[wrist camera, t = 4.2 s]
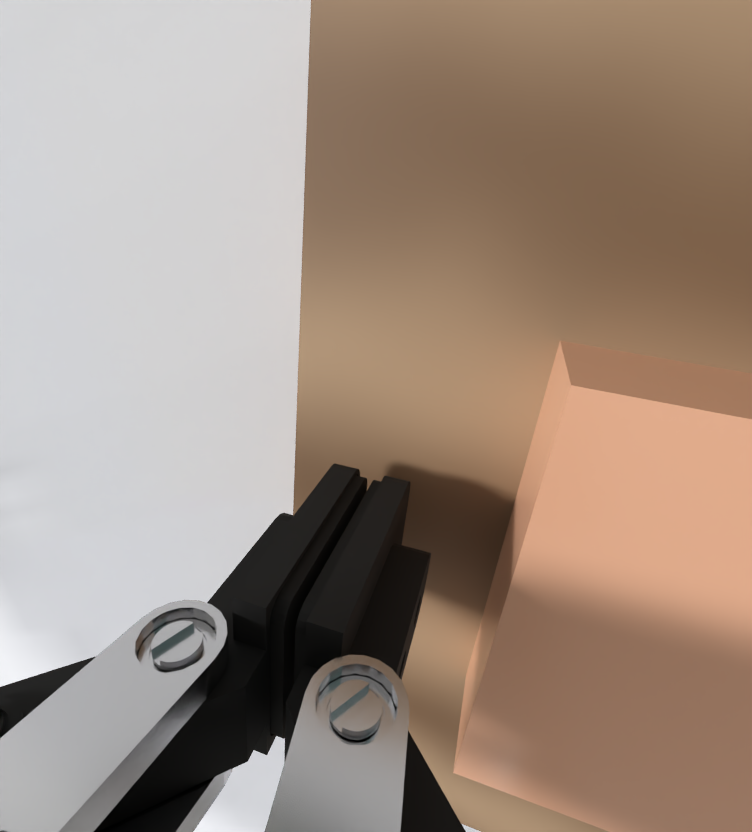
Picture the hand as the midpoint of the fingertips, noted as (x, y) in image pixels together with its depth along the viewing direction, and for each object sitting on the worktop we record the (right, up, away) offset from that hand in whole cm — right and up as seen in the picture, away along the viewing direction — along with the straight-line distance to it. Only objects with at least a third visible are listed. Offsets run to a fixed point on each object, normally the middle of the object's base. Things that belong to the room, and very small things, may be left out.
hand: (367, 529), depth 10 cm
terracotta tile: (+6, -1, -1) cm, 6 cm away
